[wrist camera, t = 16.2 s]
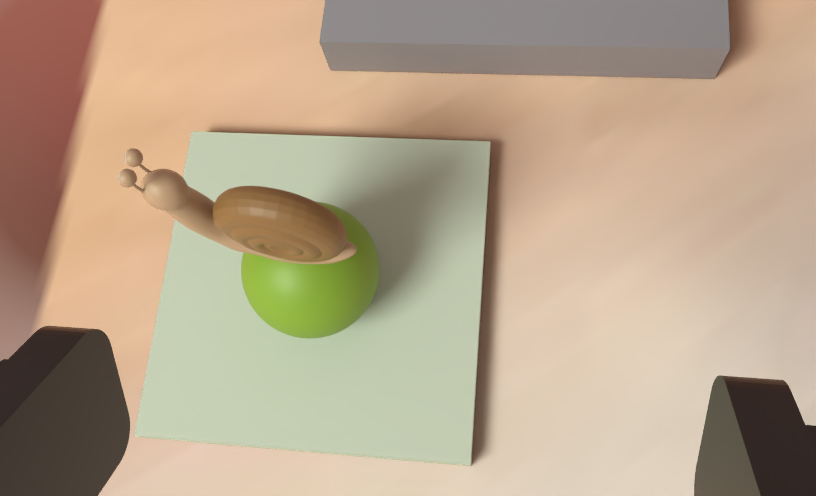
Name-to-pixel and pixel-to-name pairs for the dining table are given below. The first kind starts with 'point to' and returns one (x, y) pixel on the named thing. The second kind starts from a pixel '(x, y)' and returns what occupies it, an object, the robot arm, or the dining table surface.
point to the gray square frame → (529, 37)
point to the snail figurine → (277, 249)
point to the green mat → (350, 348)
